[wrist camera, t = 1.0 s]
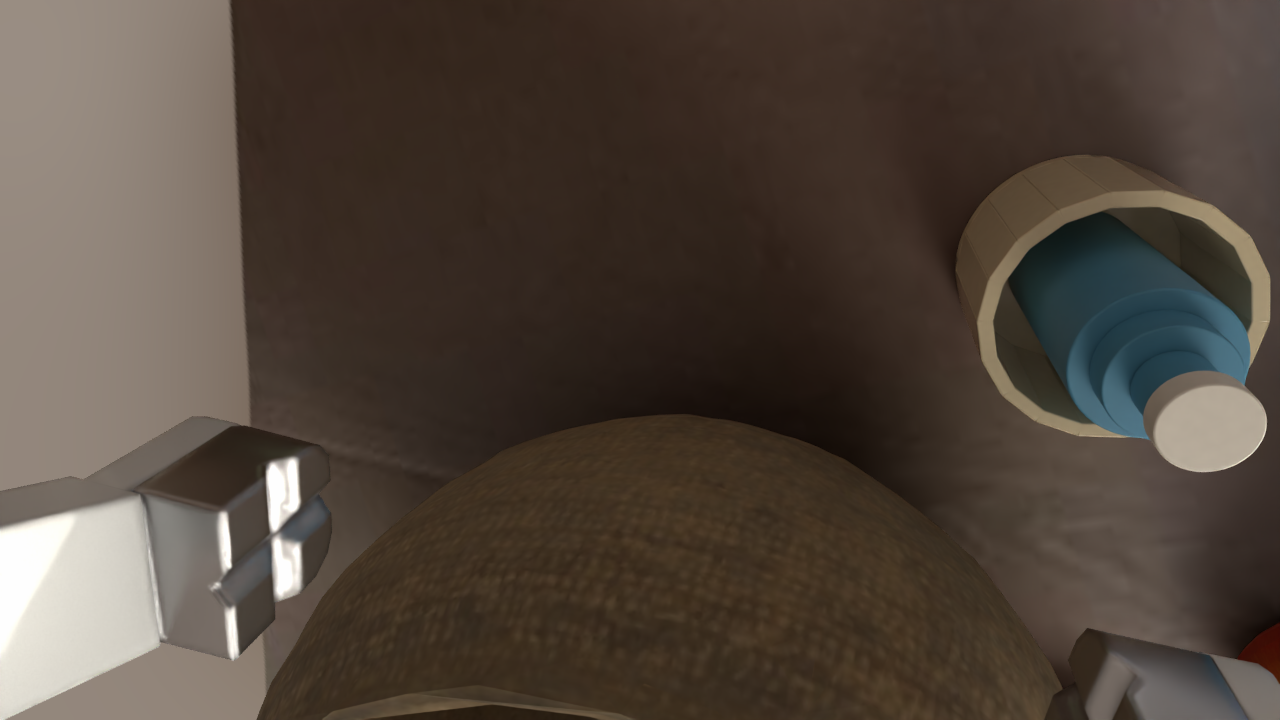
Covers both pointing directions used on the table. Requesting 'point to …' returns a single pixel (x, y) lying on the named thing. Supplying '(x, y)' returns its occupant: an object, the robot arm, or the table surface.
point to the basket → (664, 594)
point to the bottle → (1141, 343)
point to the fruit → (1265, 650)
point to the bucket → (1066, 195)
